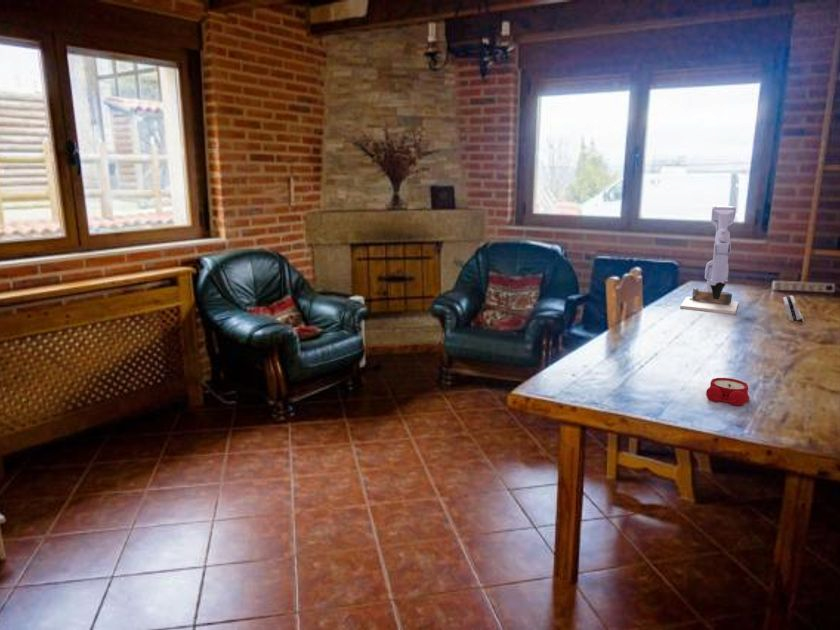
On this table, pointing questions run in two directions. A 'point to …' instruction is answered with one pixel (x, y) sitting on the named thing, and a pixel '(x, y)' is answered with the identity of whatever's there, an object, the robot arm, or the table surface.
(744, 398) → the alarm clock
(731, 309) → the board
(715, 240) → the robot arm
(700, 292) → the folding leg
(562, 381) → the table surface
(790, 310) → the hinge
